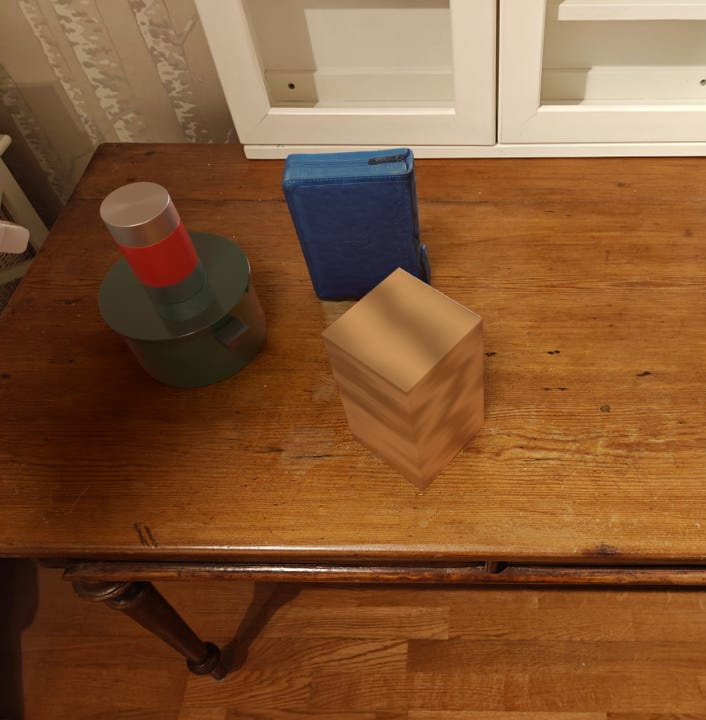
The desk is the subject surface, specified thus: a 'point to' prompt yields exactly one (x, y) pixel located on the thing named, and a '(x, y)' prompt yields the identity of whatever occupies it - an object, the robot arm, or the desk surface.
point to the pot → (190, 318)
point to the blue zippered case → (355, 219)
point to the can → (154, 241)
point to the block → (409, 375)
